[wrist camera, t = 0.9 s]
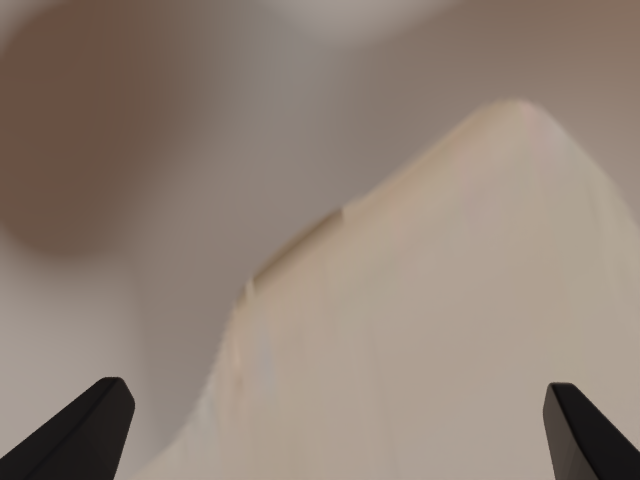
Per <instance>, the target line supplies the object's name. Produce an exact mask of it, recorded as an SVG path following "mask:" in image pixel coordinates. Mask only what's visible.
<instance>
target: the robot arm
mask: <svg viewBox="0 0 640 480" xmlns="http://www.w3.org/2000/svg"><path fill="white" fill-rule="evenodd" d="M134 410H135V401H134V398H133V396H132V394H131V393H130V391H129V389H128V387H127V385H126V383H125V382H124V380H123V379H122V378H120V377H105V378H102V379H100V380H99V381H97V382H96V383H95V384H94V385H93V386H91V387H90V388H89V389H87V390H86V391H85V392H84V393H82V394H81V395H80V396H79V397H77V398H76V399H75V400H74V401H72V402H71V403H70V404H69V405H67V406H66V407H65V408H64V409H62V410H61V411H60V412H59V413H57V414H56V415H55V416H54V417H52V418H51V419H50V420H49V421H47V422H46V423H45V424H44V425H42V426H41V427H40V428H39V429H37V430H36V431H35V432H33V433H32V434H31V435H30V436H29V437H27V438H26V439H25V440H23V441H22V442H21V443H20V444H19V445H17V446H16V447H15V448H13V449H12V450H11V451H10V452H8V453H7V454H6V455H5V456H3V457H2V458H1V459H0V480H113V479H114V477H115V474H116V471H117V467H118V464H119V461H120V458H121V454H122V451H123V447H124V444H125V441H126V438H127V434H128V431H129V427H130V424H131V421H132V417H133V414H134ZM543 420H544V425H545V430H546V435H547V440H548V445H549V450H550V455H551V460H552V464H553V469H554V474H555V479H556V480H640V452H639V451H638V450H637V449H636V448H635V447H634V446H633V445H632V443H631V442H630V441H629V440H628V439H627V438H626V437H625V436H624V435H623V434H622V433H621V432H620V431H619V430H618V429H617V428H616V427H615V426H614V425H613V424H612V423H611V422H610V421H609V420H608V419H607V418H606V417H605V416H604V415H603V414H602V413H601V412H600V411H599V410H598V408H597V407H596V406H595V405H594V404H593V403H592V402H591V401H590V400H589V399H588V398H587V397H586V396H585V395H584V394H583V393H582V392H581V391H580V390H579V389H578V388H577V387H576V386H575V385H574V384H572V383H559V382H553V383H550V384H549V385H548V387H547V392H546V397H545V402H544V406H543Z"/></svg>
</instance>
